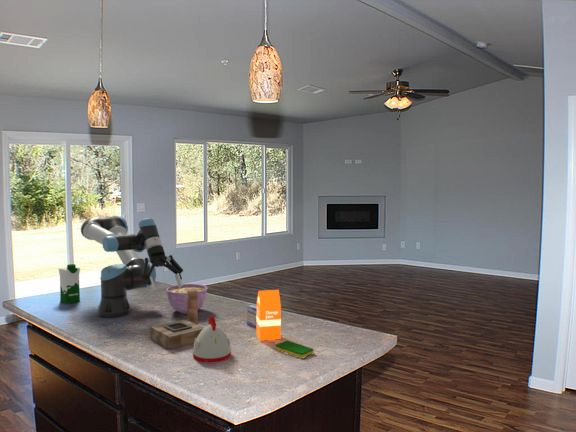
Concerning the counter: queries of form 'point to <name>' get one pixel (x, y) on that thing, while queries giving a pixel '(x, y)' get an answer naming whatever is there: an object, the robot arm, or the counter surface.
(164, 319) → the counter surface
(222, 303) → the counter surface
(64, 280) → the milk carton
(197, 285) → the bowl of food
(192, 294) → the terracotta peg
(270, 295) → the orange juice
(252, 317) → the medicine box
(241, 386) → the counter surface
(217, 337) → the kitchen timer
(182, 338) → the walnut socket block
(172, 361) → the counter surface
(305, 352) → the dish sponge
